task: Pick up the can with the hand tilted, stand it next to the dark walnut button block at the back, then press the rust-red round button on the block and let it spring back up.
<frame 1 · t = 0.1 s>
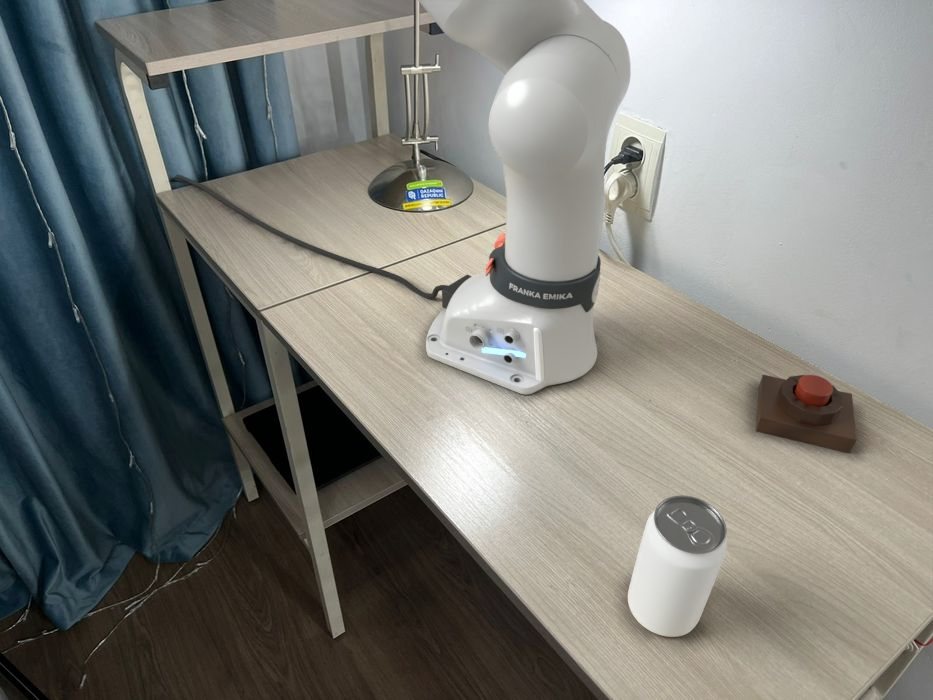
button block: (801, 418, 81), on the table
can: (662, 606, 63), on the table
trigger button: (813, 390, 78), point 4 cm above the table, slide at 0.1 cm
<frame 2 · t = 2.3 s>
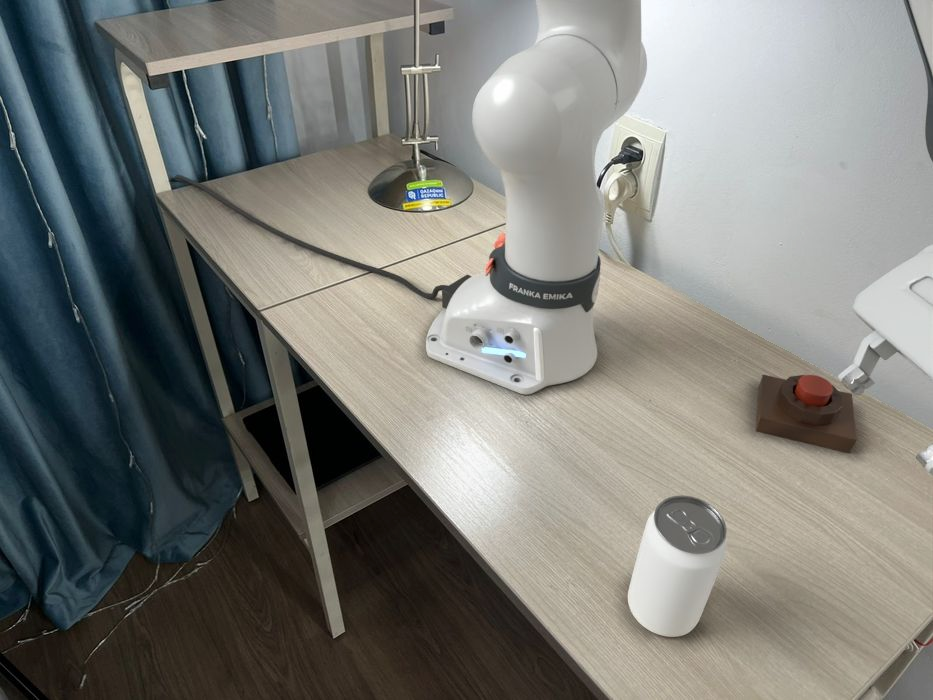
hand: (883, 424, 53), 20 cm above the table, tool tilted 40°, fingers open, 8 cm apart
nothing on the table moved.
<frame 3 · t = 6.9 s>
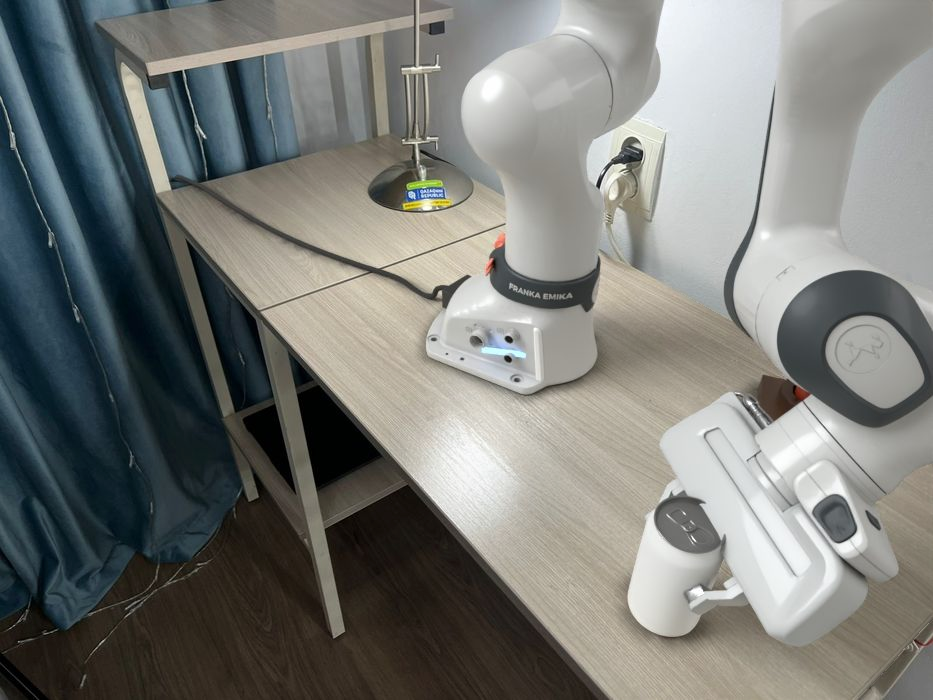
hand: (670, 564, 58), 7 cm above the table, tool tilted 45°, fingers closed on can, 6 cm apart
can: (662, 606, 63), on the table, touching gripper
everything else where it was.
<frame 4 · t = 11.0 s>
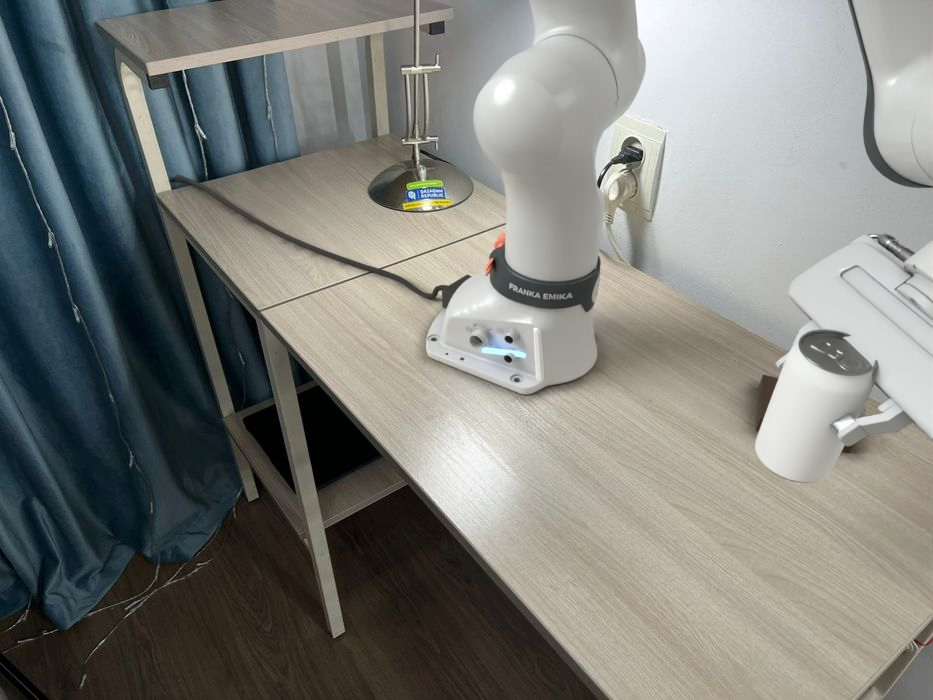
hand: (809, 403, 56), 18 cm above the table, tool tilted 45°, fingers closed on can, 6 cm apart
can: (791, 459, 61), point 12 cm above the table, touching gripper
everything else where it was.
when the fingers open (6 cm above the table, at t = 15.5 s): can stays where it is, on the table.
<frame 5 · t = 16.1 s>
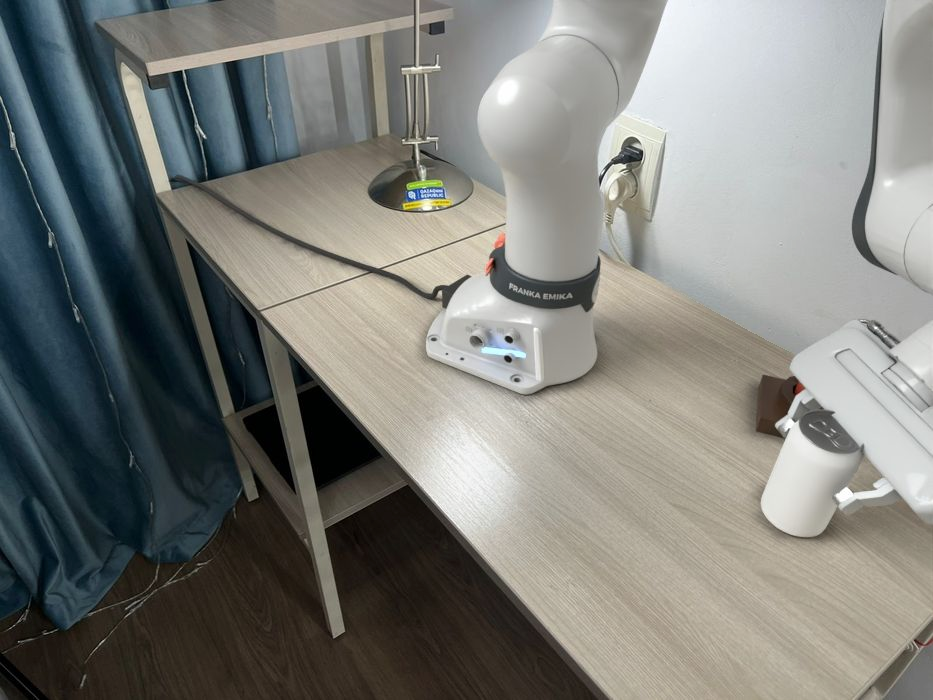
hand: (808, 468, 66), 7 cm above the table, tool tilted 45°, fingers open, 8 cm apart
can: (791, 514, 71), on the table
everything else where it was.
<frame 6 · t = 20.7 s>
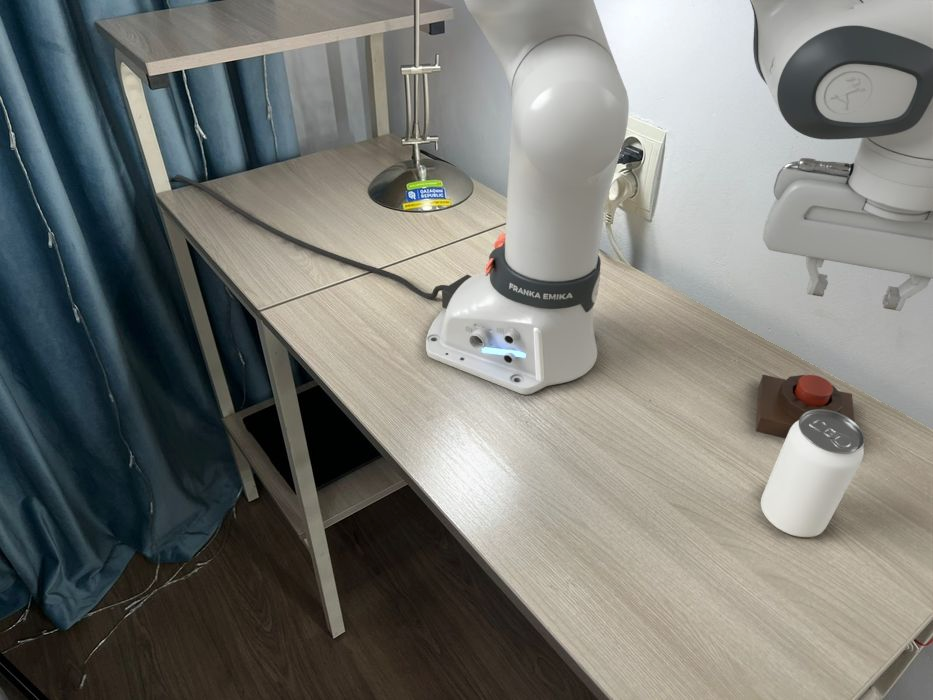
hand: (851, 299, 71), 17 cm above the table, tool pointing down, fingers open, 6 cm apart
nothing on the table moved.
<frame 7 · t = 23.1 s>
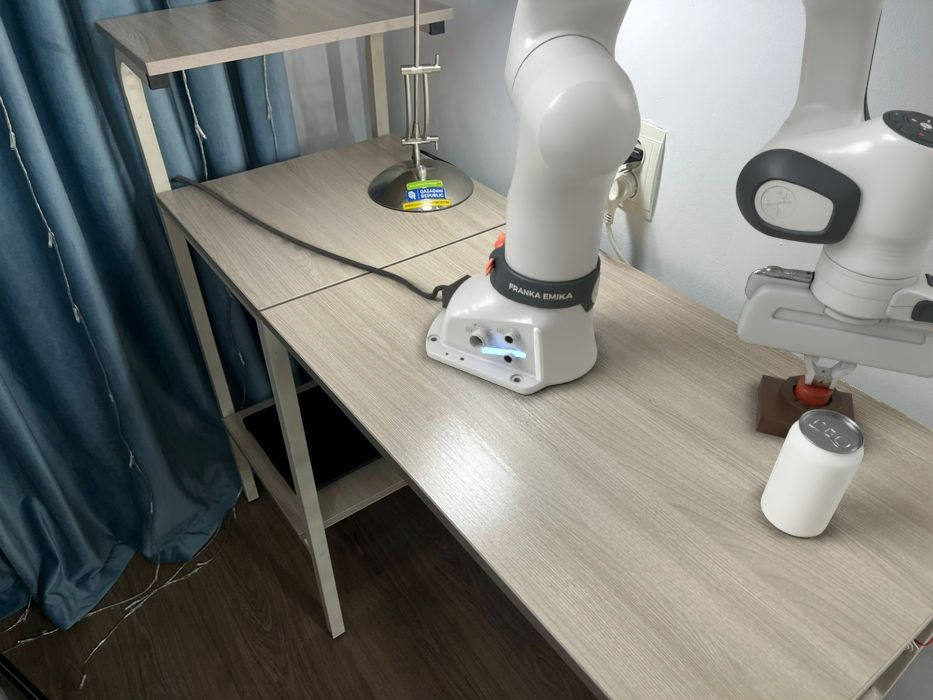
hand: (818, 383, 78), 5 cm above the table, tool pointing down, fingers closed, pressing on trigger button
trigger button: (813, 390, 78), point 4 cm above the table, slide at 0.1 cm, touching gripper
everything else where it was.
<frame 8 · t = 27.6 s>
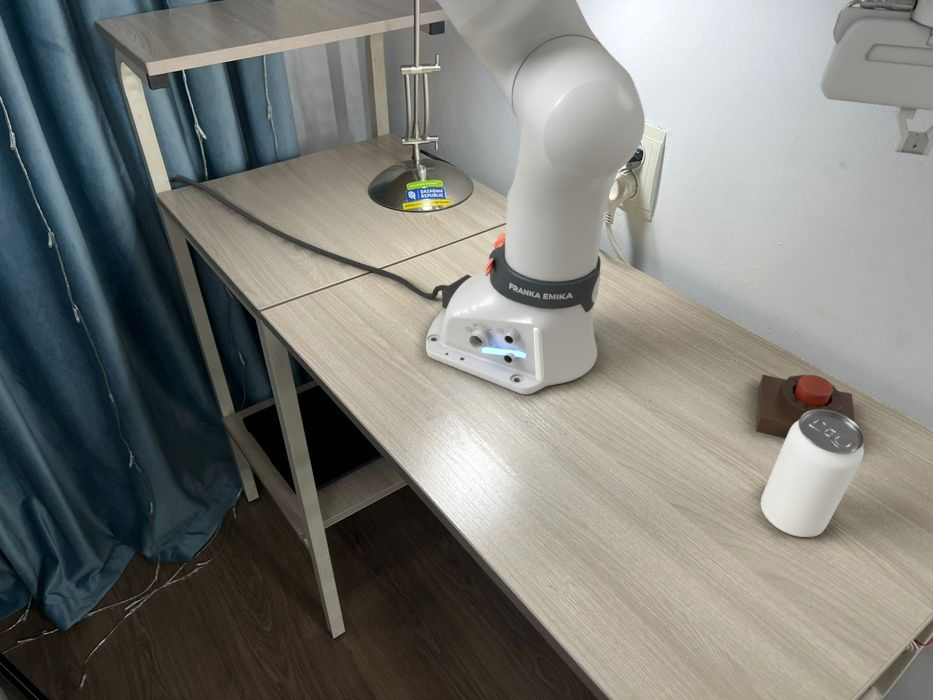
hand: (910, 151, 70), 29 cm above the table, tool pointing down, fingers closed
trigger button: (813, 390, 78), point 4 cm above the table, slide at 0.1 cm
everything else where it was.
at the end: trigger button pushed in 1.1 cm at the most during the clip, back to where it started at the end; trigger button slide at 0.1 cm; can inside the target area (0.0 cm from its centre), on the table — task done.
